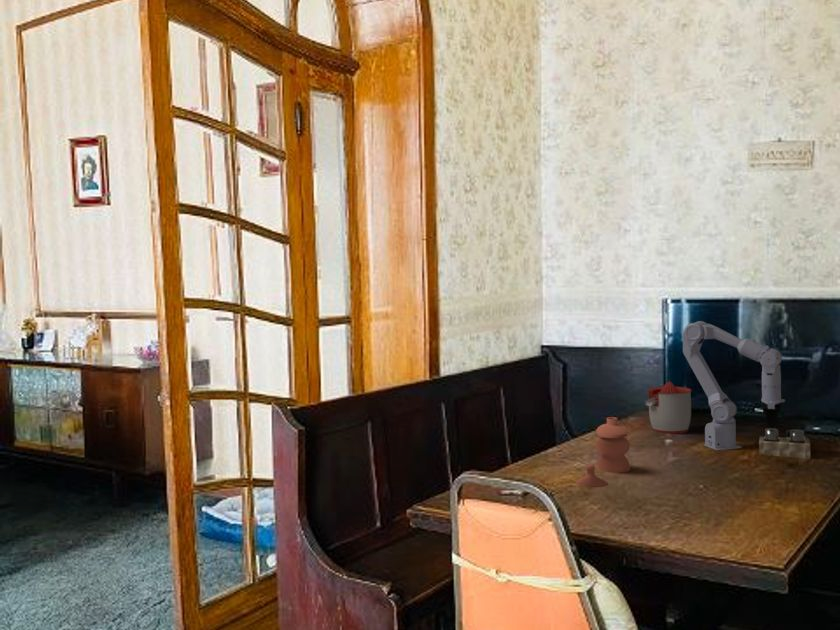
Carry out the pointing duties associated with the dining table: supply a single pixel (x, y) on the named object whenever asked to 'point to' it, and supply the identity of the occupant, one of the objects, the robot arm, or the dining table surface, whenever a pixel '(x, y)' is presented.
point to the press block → (785, 448)
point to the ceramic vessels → (608, 453)
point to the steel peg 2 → (796, 436)
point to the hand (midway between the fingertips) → (771, 426)
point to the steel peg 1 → (771, 434)
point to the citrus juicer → (669, 408)
